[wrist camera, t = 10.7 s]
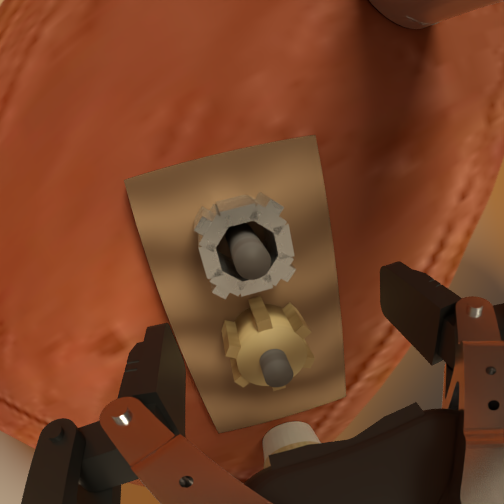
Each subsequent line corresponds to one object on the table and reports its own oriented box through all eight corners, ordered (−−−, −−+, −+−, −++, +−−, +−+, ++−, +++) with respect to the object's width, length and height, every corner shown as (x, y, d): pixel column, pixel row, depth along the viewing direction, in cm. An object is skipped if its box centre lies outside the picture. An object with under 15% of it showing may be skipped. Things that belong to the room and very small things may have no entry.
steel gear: (191, 208, 22) (190, 219, 18) (268, 188, 22) (283, 196, 19) (211, 279, 24) (214, 303, 20) (283, 260, 24) (298, 280, 21)
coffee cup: (303, 398, 31) (354, 511, 17) (338, 433, 35) (384, 523, 21) (230, 438, 32) (251, 551, 18) (274, 467, 35) (302, 559, 21)
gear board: (128, 178, 22) (98, 190, 15) (308, 135, 23) (352, 131, 16) (217, 423, 31) (224, 478, 24) (340, 388, 32) (368, 435, 25)
